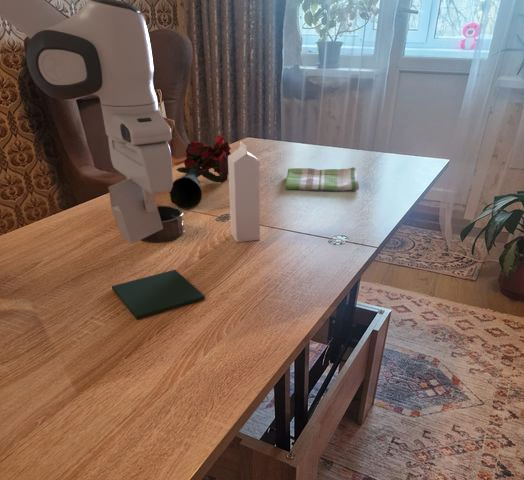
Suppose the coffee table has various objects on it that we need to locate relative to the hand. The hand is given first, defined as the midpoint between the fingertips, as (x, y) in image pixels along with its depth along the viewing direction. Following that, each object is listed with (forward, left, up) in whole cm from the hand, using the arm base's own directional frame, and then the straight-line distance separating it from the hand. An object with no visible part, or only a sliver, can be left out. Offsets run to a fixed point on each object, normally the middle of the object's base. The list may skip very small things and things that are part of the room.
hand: (144, 206), depth 86 cm
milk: (+30, +16, -18) cm, 39 cm away
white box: (-1, 0, -5) cm, 5 cm away
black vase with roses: (+38, +55, -18) cm, 69 cm away
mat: (0, 0, -18) cm, 18 cm away
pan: (+13, +30, -18) cm, 37 cm away
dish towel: (+74, +41, -18) cm, 87 cm away
